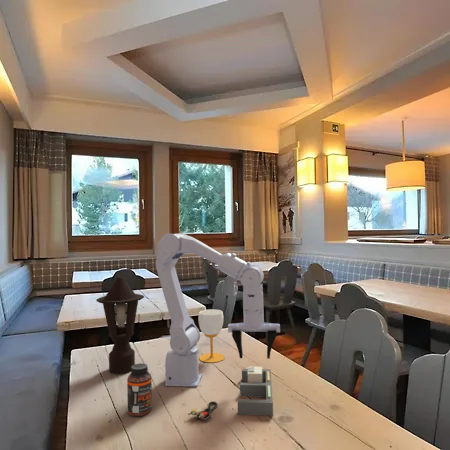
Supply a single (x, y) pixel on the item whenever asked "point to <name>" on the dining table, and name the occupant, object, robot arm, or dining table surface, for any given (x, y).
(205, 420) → the composite cable
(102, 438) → the dining table surface
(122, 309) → the lantern
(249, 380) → the plug
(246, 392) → the socket panel
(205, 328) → the cup
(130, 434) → the dining table surface
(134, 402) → the supplement bottle
